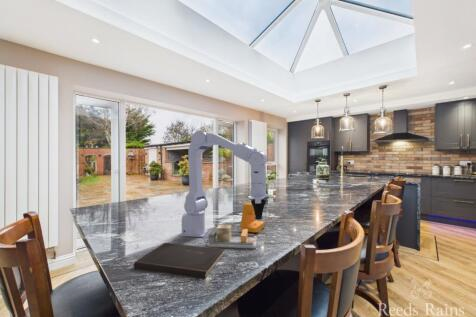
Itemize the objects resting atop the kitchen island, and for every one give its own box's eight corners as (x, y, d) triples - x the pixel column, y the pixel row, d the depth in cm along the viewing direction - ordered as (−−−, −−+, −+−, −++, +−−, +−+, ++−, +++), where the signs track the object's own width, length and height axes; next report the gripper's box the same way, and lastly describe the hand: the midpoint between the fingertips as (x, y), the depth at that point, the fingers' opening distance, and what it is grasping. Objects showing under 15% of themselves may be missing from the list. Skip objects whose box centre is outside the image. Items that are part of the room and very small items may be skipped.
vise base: (206, 246, 82) (206, 235, 82) (213, 236, 92) (212, 227, 92) (255, 248, 80) (255, 237, 80) (256, 238, 90) (256, 228, 90)
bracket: (255, 234, 95) (255, 206, 95) (240, 232, 98) (240, 204, 98) (264, 227, 104) (264, 201, 104) (250, 225, 108) (250, 200, 107)
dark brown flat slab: (164, 248, 82) (164, 242, 82) (224, 255, 76) (224, 248, 76) (133, 270, 66) (133, 262, 66) (205, 281, 60) (205, 272, 60)
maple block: (216, 241, 85) (216, 227, 85) (218, 237, 89) (218, 224, 89) (229, 241, 84) (229, 228, 84) (231, 237, 88) (231, 225, 88)
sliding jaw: (240, 243, 82) (240, 235, 82) (242, 235, 90) (242, 228, 90) (246, 243, 81) (246, 236, 81) (247, 236, 89) (247, 229, 89)
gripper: (269, 185, 77) (269, 224, 77) (268, 180, 91) (268, 214, 92) (249, 185, 78) (249, 224, 78) (251, 180, 92) (251, 213, 92)
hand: (258, 218), depth 85 cm, fingers closed
